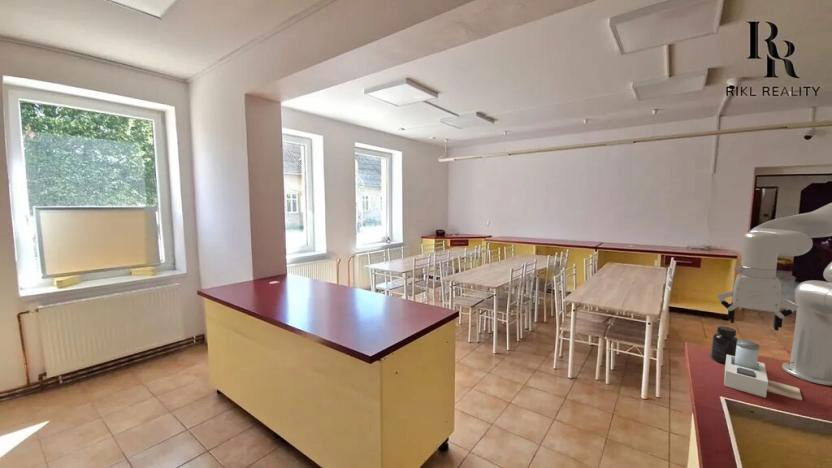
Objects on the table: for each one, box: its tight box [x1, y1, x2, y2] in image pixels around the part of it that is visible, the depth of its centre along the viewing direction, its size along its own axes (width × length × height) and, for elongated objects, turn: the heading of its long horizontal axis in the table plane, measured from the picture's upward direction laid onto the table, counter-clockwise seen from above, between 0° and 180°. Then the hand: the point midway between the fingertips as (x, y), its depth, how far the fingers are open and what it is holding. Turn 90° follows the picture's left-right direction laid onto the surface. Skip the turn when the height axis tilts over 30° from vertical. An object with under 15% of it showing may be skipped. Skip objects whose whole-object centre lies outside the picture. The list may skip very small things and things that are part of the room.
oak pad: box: [767, 379, 803, 401], centre depth 100 cm, size 7×7×1 cm
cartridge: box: [734, 339, 760, 370], centre depth 106 cm, size 5×5×12 cm
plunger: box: [738, 367, 754, 377], centre depth 101 cm, size 3×3×4 cm
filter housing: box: [723, 354, 769, 399], centre depth 105 cm, size 14×9×5 cm, turn 136°
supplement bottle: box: [710, 325, 739, 365], centre depth 117 cm, size 7×7×12 cm
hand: (753, 325), depth 103 cm, fingers open, 9 cm apart
